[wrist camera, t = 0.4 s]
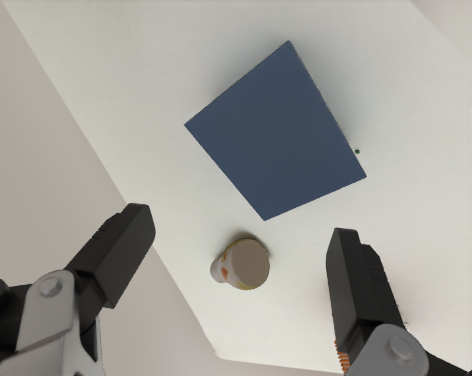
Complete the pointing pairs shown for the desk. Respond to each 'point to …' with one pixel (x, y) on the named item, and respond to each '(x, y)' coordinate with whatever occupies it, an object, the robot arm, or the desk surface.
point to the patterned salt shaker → (242, 265)
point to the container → (276, 137)
